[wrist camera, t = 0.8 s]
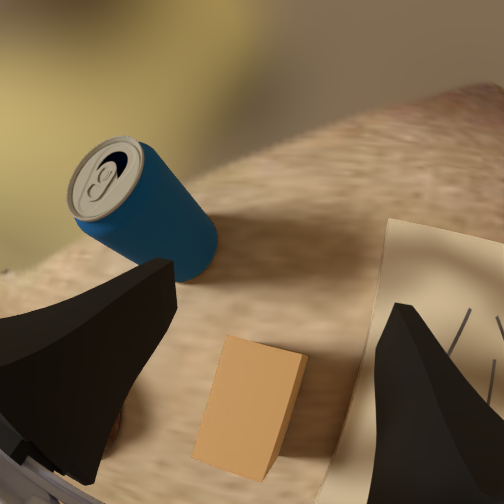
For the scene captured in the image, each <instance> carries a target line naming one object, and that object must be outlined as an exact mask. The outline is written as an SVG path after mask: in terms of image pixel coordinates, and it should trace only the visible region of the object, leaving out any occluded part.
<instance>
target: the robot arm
mask: <svg viewBox="0 0 504 504" xmlns="http://www.w3.org/2000/svg"><path fill="white" fill-rule="evenodd" d="M176 311H177V297H176V286H175V274H174V260H169V259H164V258H159V257H157V258H154V259H152V260H149V261H147V262H145V263H143V264H141V265H139V266H137V267H135V268H133V269H131V270H129V271H127V272H125V273H123V274H121V275H119V276H117V277H115V278H113V279H111V280H109V281H107V282H105V283H103V284H101V285H99V286H97V287H95V288H93V289H90V290H88V291H86V292H84V293H82V294H80V295H77V296H75V297H73V298H70V299H68V300H65V301H62V302H60V303H57V304H54V305H51V306H48V307H45V308H42V309H38V310H35V311H31V312H28V313H24V314H21V315H16V316H12V317H7V318H1V319H0V504H60V503H59V501H58V500H60V501H61V502H63V503H64V504H105V503H103V502H101V501H99V500H97V499H95V498H94V497H92V496H90V495H88V494H86V493H85V492H83V491H81V490H79V489H78V488H76V487H74V486H73V485H71V484H69V483H68V482H66V481H65V480H63V479H61V478H60V477H58V476H57V475H55V474H54V473H53V472H54V470H55V471H56V472H58V473H59V474H61V475H63V476H65V475H67V476H69V477H71V478H72V479H74V480H76V481H77V482H79V483H81V484H82V485H85V486H87V485H91V484H93V483H94V482H95V478H96V475H97V471H98V468H99V465H100V461H101V458H102V455H103V452H104V449H105V446H106V444H107V441H108V438H109V436H110V433H111V430H112V428H113V426H114V423H115V421H116V419H117V416H118V414H119V412H120V409H121V407H122V405H123V403H124V401H125V399H126V397H127V395H128V393H129V390H130V389H131V387H132V385H133V383H134V382H135V380H136V378H137V377H138V375H139V374H140V372H141V371H142V369H143V367H144V366H145V364H146V363H147V361H148V360H149V358H150V357H151V355H152V354H153V352H154V351H155V349H156V348H157V346H158V344H159V343H160V341H161V340H162V338H163V337H164V335H165V333H166V332H167V330H168V328H169V326H170V324H171V322H172V319H173V317H174V315H175V313H176ZM374 387H375V408H376V449H375V458H374V466H373V473H372V479H371V484H370V490H369V495H368V499H367V504H504V420H503V419H502V418H501V417H500V416H499V415H498V414H497V413H496V412H495V411H494V410H493V409H492V408H491V407H490V406H489V405H488V404H487V403H486V402H485V400H484V399H483V398H482V397H481V396H480V395H479V394H478V392H477V391H476V390H475V389H474V388H473V387H472V386H471V384H470V383H469V382H468V381H467V380H466V378H465V377H464V376H463V374H462V373H461V372H460V370H459V369H458V368H457V367H456V365H455V364H454V363H453V361H452V360H451V359H450V357H449V356H448V354H447V353H446V352H445V350H444V349H443V347H442V346H441V345H440V343H439V342H438V340H437V339H436V337H435V336H434V335H433V333H432V332H431V330H430V329H429V327H428V326H427V325H426V323H425V322H424V320H423V319H422V317H421V316H420V315H419V313H418V312H417V311H416V309H415V308H414V307H413V306H412V305H408V304H402V303H396V302H395V303H394V306H393V308H392V311H391V313H390V316H389V318H388V320H387V323H386V325H385V328H384V330H383V332H382V334H381V337H380V339H379V341H378V343H377V346H376V348H375V363H374ZM56 498H57V499H58V500H57V499H56Z"/></svg>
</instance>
